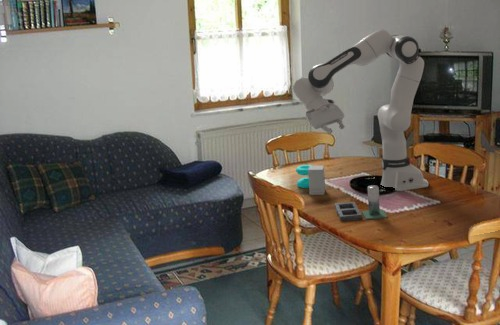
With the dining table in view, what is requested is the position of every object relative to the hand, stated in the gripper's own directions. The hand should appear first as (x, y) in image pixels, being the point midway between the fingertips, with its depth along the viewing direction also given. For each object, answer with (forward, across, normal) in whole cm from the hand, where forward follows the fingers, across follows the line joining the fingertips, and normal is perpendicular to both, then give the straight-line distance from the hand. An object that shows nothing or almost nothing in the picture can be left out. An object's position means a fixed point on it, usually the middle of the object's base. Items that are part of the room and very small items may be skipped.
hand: (337, 130), depth 266 cm
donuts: (+4, +10, +44) cm, 45 cm away
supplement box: (+12, +4, +36) cm, 38 cm away
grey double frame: (+32, -12, +15) cm, 38 cm away
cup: (+40, -8, +7) cm, 41 cm away
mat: (+40, -8, +7) cm, 42 cm away
